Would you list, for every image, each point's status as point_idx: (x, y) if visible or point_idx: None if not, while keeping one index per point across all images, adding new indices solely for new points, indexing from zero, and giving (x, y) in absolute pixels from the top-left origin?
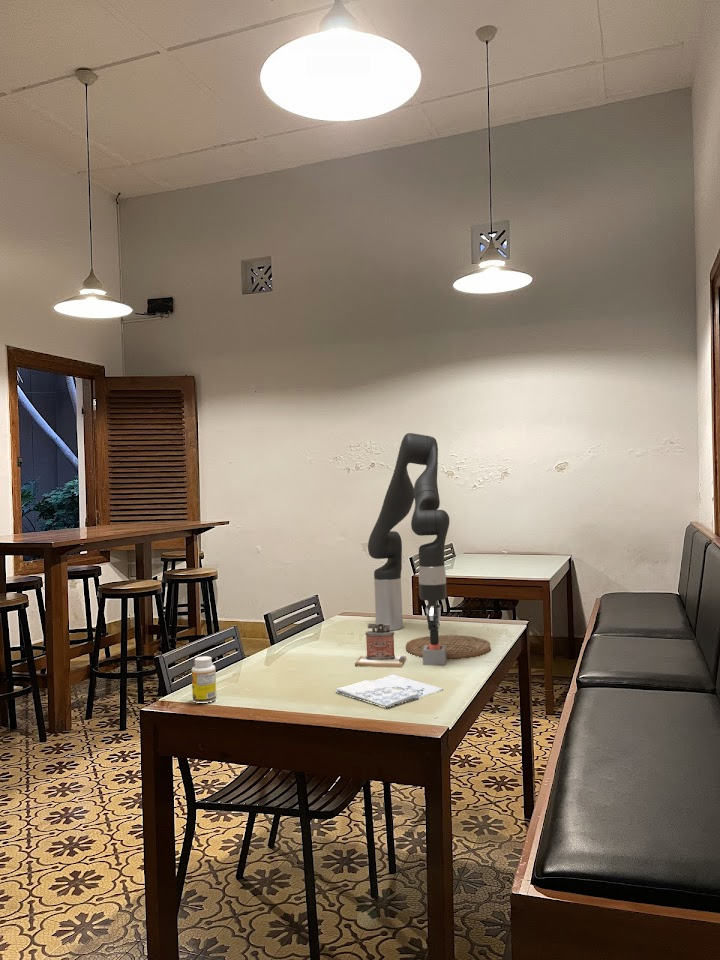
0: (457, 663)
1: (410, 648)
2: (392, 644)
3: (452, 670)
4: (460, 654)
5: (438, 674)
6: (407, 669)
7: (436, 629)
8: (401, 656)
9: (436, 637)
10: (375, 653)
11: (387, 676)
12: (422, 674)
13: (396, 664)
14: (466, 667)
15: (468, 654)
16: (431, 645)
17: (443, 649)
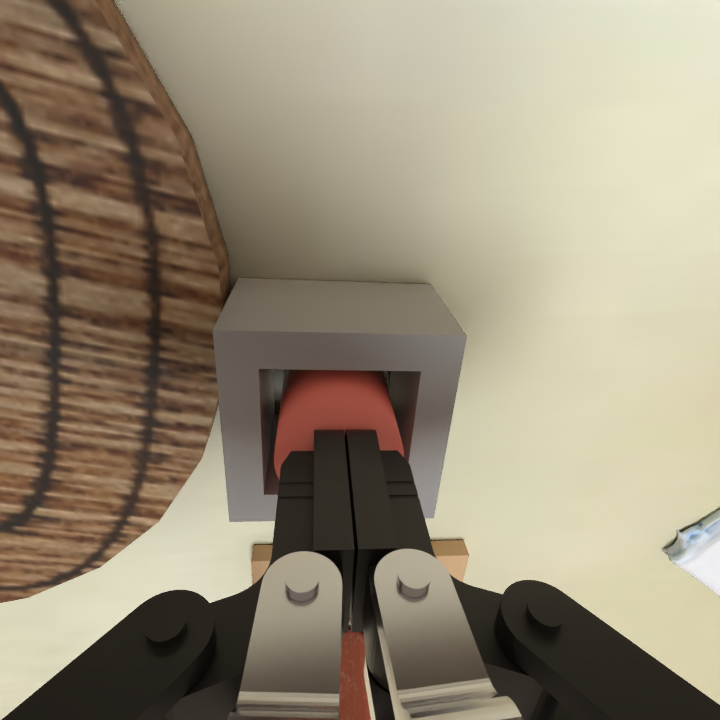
0: (374, 171)
1: (68, 572)
2: (367, 717)
3: (612, 214)
4: (179, 138)
5: (695, 319)
6: (518, 506)
7: (563, 606)
8: None
9: (410, 499)
10: None
11: (709, 575)
12: (660, 417)
13: (463, 576)
14: (535, 73)
15: (118, 27)
16: None
17: (425, 348)
